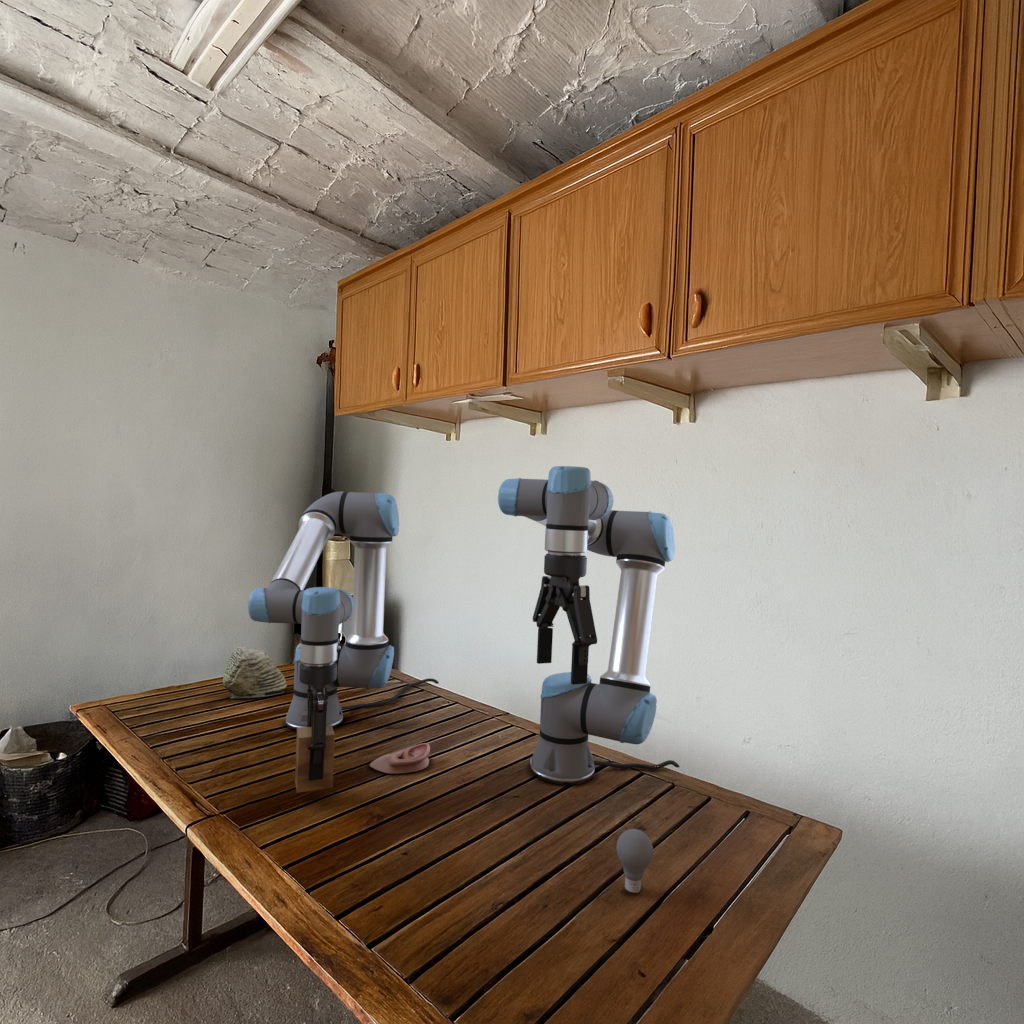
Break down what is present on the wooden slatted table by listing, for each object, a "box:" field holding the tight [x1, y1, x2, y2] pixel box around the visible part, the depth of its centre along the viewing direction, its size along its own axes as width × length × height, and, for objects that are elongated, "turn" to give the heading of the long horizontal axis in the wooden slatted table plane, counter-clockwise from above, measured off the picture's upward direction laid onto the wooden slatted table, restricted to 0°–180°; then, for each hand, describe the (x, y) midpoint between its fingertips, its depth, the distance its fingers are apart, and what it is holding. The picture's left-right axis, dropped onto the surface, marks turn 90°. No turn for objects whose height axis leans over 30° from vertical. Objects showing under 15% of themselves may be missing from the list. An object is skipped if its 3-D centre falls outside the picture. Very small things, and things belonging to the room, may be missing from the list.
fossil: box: [222, 646, 288, 699], centre depth 198 cm, size 9×18×15 cm, turn 132°
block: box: [294, 725, 336, 794], centre depth 133 cm, size 7×6×11 cm
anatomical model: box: [369, 742, 431, 775], centre depth 151 cm, size 13×4×12 cm
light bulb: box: [615, 828, 654, 894], centre depth 106 cm, size 6×6×10 cm
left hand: (314, 772), depth 133 cm, fingers closed on block, 6 cm apart
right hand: (560, 672), depth 113 cm, fingers open, 13 cm apart
